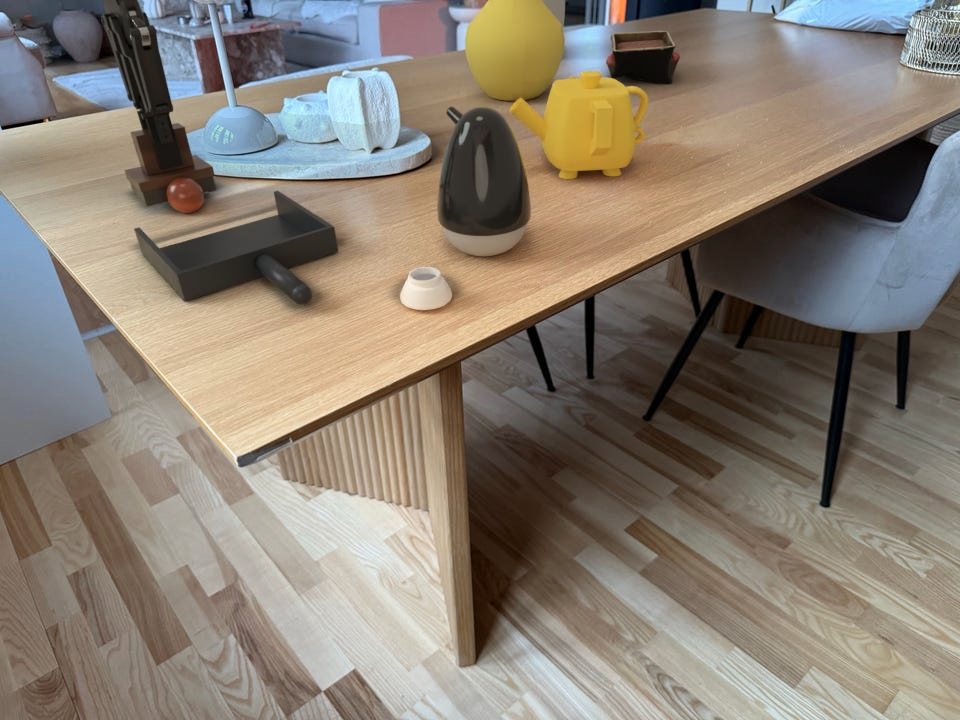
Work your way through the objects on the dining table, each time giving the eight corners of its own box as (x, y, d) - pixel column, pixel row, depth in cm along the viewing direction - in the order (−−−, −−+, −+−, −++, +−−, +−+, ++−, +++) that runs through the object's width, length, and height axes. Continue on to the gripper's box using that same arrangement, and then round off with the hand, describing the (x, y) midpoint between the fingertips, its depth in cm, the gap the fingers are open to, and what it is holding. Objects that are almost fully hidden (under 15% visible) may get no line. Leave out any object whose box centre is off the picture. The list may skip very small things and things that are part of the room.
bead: (165, 206, 90) (157, 175, 87) (199, 198, 92) (193, 168, 89) (177, 222, 88) (170, 191, 85) (212, 214, 90) (206, 183, 87)
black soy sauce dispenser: (487, 220, 85) (484, 89, 76) (549, 246, 78) (553, 106, 69) (420, 245, 79) (409, 107, 71) (480, 276, 73) (476, 128, 64)
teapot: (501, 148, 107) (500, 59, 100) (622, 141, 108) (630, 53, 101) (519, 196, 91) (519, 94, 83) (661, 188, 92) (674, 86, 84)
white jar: (404, 316, 66) (456, 309, 67) (401, 289, 65) (454, 282, 65) (398, 292, 70) (447, 285, 71) (395, 265, 69) (445, 259, 69)
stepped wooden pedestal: (131, 193, 92) (111, 131, 88) (201, 177, 97) (186, 117, 92) (145, 207, 88) (125, 143, 84) (218, 189, 93) (203, 127, 88)
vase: (509, 113, 123) (508, -88, 106) (447, 94, 135) (438, -89, 118) (582, 94, 132) (592, -93, 115) (518, 78, 144) (519, -93, 127)
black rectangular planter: (600, 95, 139) (607, 43, 132) (607, 61, 152) (614, 12, 145) (673, 102, 137) (684, 50, 130) (674, 67, 150) (684, 18, 143)
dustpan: (142, 254, 79) (133, 228, 77) (282, 214, 88) (277, 190, 86) (222, 345, 63) (214, 314, 61) (385, 285, 72) (382, 257, 70)
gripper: (164, -44, 74) (218, 172, 87) (122, -52, 84) (176, 143, 97) (89, -38, 70) (157, 187, 84) (54, -46, 80) (120, 155, 94)
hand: (167, 163), depth 90 cm, fingers closed on stepped wooden pedestal, 2 cm apart
